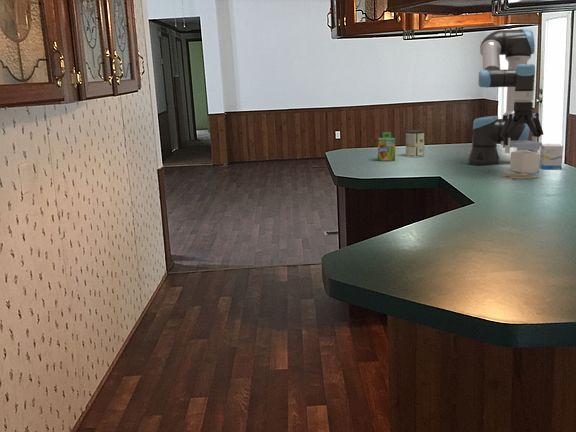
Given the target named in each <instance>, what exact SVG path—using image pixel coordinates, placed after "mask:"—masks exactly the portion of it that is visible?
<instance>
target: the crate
mask: <svg viewBox="0 0 576 432" xmlns="http://www.w3.org/2000/svg"><path fill="white" fill-rule="evenodd" d="M539 163H540V152H539V153H538V152H532V151H531V150H517V151H510V163H509V165H510V166H509V170H510V171H513V172H515V173H516V172H517V173H519V174H522V173H524V174H528V173H529V174H530V173H539V169H540V167H539Z"/></svg>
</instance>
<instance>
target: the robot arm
mask: <svg viewBox="0 0 576 432" xmlns="http://www.w3.org/2000/svg"><path fill="white" fill-rule="evenodd" d="M535 47H536V45H535V36H534V32H533V31H532V30H531V29H524V28H520V29H504V30H503V29H501V30H500V29H499V30H495V31H493V32H490V33H489V34H487V36H485V37H484V38H483V40H482V41H481V42H480V46H479V52H480V55H481V57H482V69H481V70H479V72H478V86H479V88H487V89H488V88H506V89H507V90H506V105H505V106H506V109H505V110H506V111H505V113H504V114H502V118H499V116H498V115H491V116H490V115H489V116H488V115H487V116H481V117H478V118H475V119H474V120H473V125H472V141H471V142H472V143H471V145H472V146H471V150H470V153H469V155H468V158H467V164H468V165H471V166H472V165H473V166H483V167H484V166H487V167H488V166H494V165H495V166H497V165H500V156H499V154H498V153H499V152H498V149H497V144H498V143H500V144H501V141H504V145H505V148H504V153H505V154H511V147H510V141H520V140H528V138H529V136H530V132H531V133H532V135H533V136H531V141H534V142H539V139H540V137H541V136H542V135H544V131H543V128H542V125H541V121H540V114H539V113H538V112H533V108H534V106H533V105H534V102H533V100H534V90H535V89H534V88H535V87H534V86H535V75H536V66H535V64H534V63H528V62H529V60H530V59H531V57H532V55H534V54H535ZM500 56H505V60H506V61H507V63H508V66H507V69H501V61H500V60H501V58H500ZM532 119H533V120H532ZM530 152H535V153H537V150H530Z"/></svg>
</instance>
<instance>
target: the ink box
mask: <svg viewBox="0 0 576 432" xmlns="http://www.w3.org/2000/svg"><path fill="white" fill-rule="evenodd" d="M539 151H540V152H539V169H541V170H543V171H545V170H547V171H548V170H549V171H551V170H552V171H553V170H554V171H555V170H557V171H558V170H559V171H561V170H562V169H563V168H562V166H563V153H564V146H563V145H562V144H561V143H542V147H540V149H539Z"/></svg>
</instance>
